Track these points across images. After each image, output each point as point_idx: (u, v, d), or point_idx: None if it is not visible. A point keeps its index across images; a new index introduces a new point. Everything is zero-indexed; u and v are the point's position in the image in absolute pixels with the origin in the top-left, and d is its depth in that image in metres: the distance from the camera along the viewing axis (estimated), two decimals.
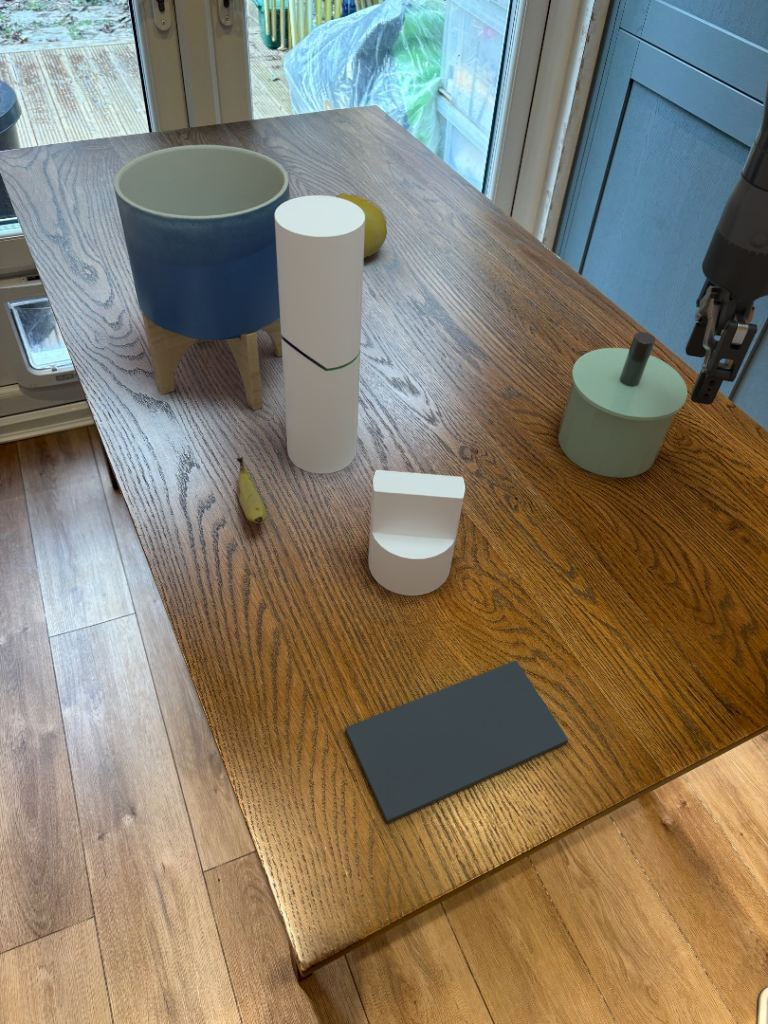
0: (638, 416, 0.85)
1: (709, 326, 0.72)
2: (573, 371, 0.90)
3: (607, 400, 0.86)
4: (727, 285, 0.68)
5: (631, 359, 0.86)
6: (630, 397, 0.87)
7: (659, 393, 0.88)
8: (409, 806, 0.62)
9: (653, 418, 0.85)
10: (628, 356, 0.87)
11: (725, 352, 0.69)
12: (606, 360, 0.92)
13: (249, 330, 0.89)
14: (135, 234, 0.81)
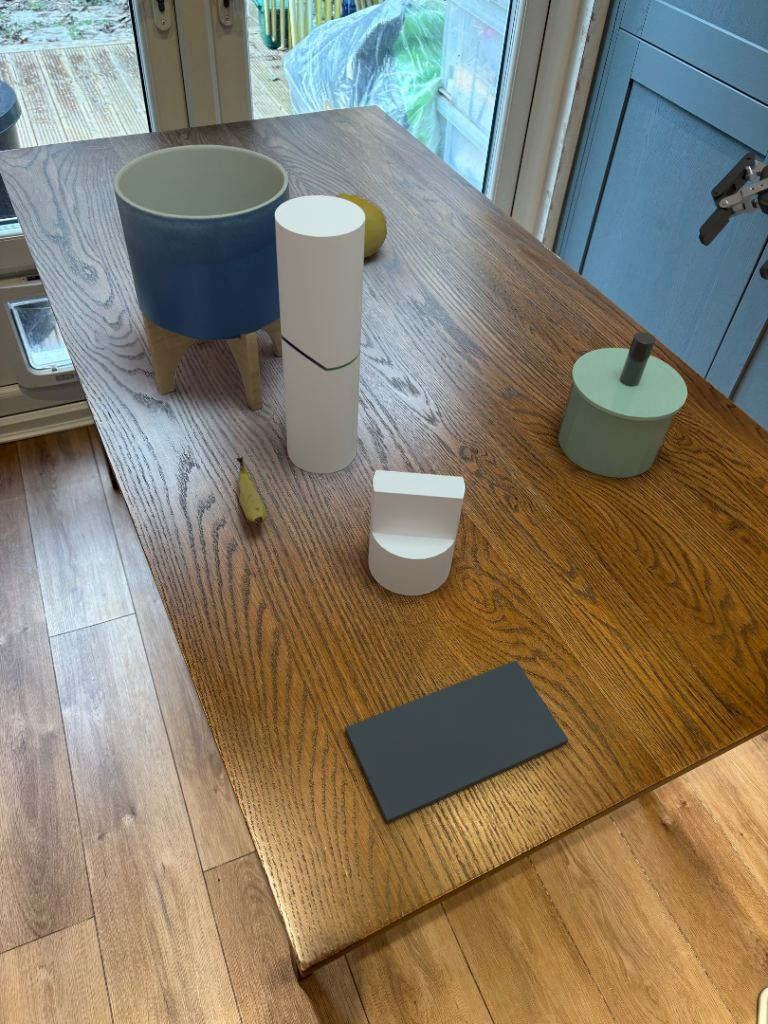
0: (638, 416, 0.85)
1: None
2: (573, 371, 0.90)
3: (607, 400, 0.86)
4: None
5: (631, 359, 0.86)
6: (630, 397, 0.87)
7: (659, 393, 0.88)
8: (409, 806, 0.62)
9: (653, 418, 0.85)
10: (628, 356, 0.87)
11: None
12: (606, 360, 0.92)
13: (249, 330, 0.89)
14: (135, 234, 0.81)
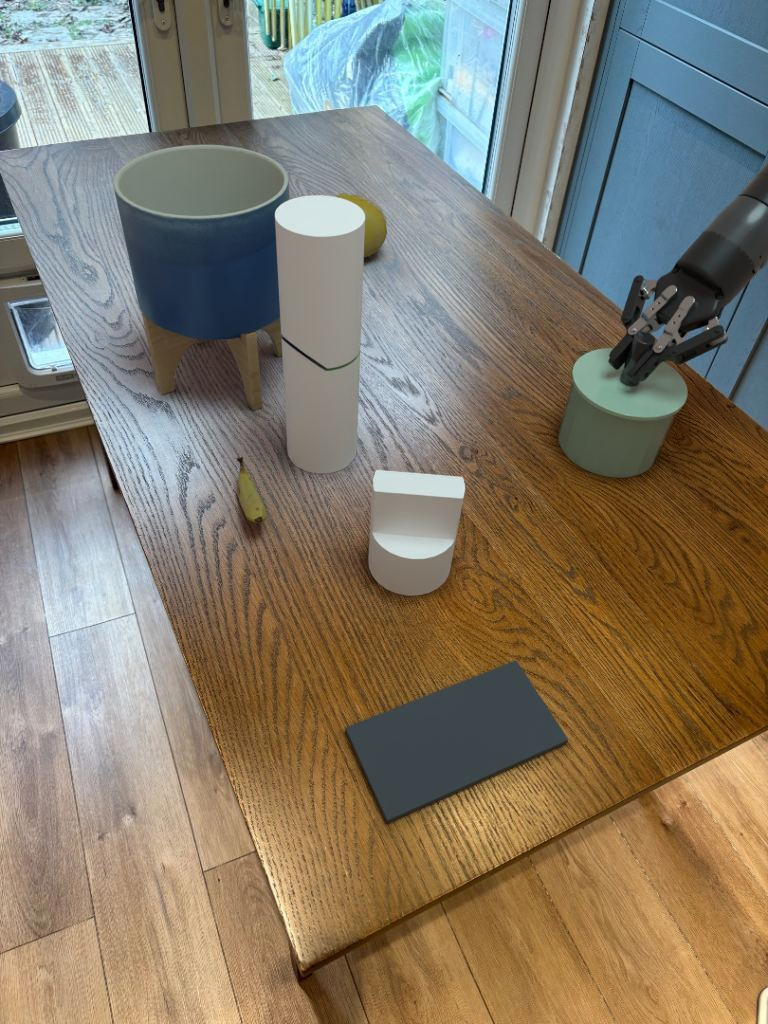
0: (639, 416, 0.85)
1: None
2: (573, 371, 0.90)
3: (607, 400, 0.86)
4: None
5: (631, 359, 0.86)
6: (630, 397, 0.87)
7: (659, 393, 0.88)
8: (409, 806, 0.62)
9: (653, 418, 0.85)
10: (628, 356, 0.87)
11: None
12: (606, 360, 0.92)
13: (249, 330, 0.89)
14: (135, 234, 0.81)
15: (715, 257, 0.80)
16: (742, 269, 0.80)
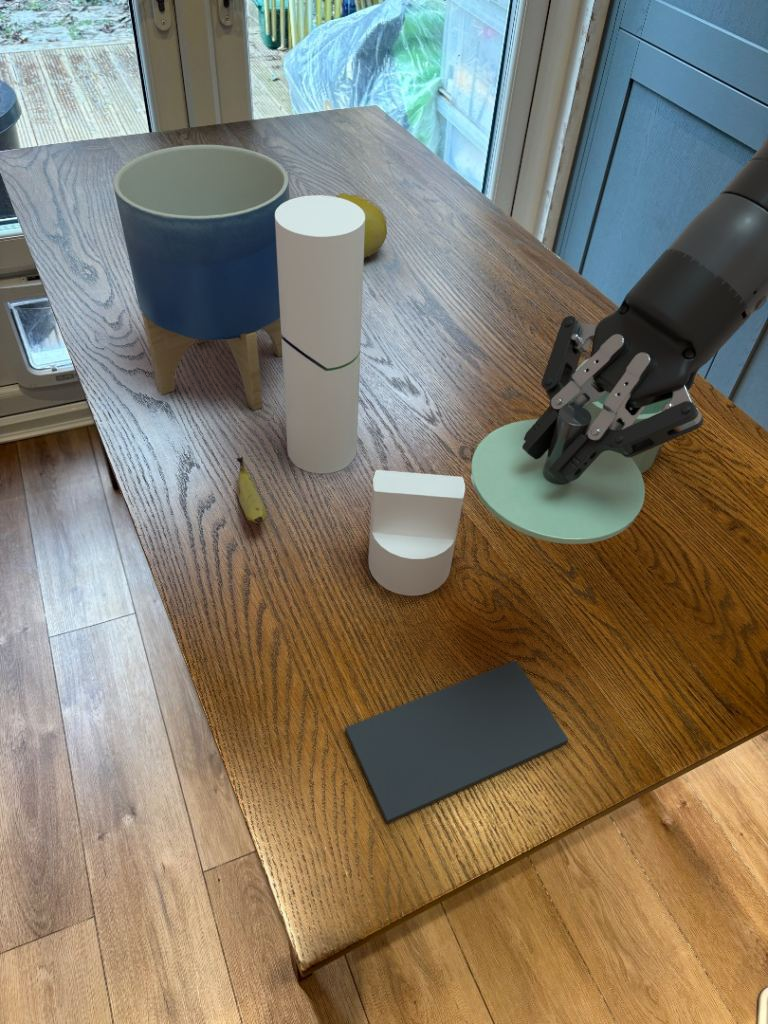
0: (565, 538, 0.54)
1: None
2: (473, 459, 0.60)
3: (519, 510, 0.56)
4: None
5: (556, 447, 0.56)
6: (555, 504, 0.57)
7: (601, 496, 0.57)
8: (409, 806, 0.62)
9: (588, 540, 0.55)
10: (551, 441, 0.56)
11: None
12: None
13: (249, 330, 0.89)
14: (135, 234, 0.81)
15: (682, 292, 0.50)
16: (725, 312, 0.50)
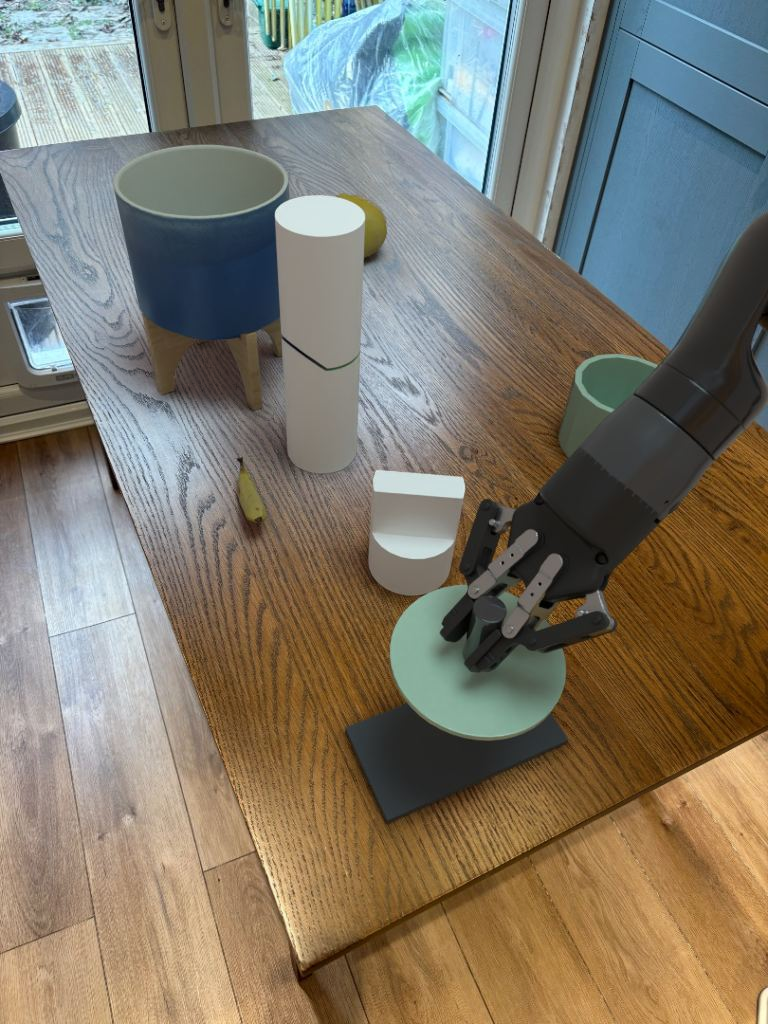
0: (479, 736, 0.53)
1: None
2: (392, 637, 0.58)
3: (435, 701, 0.55)
4: None
5: (473, 637, 0.55)
6: (473, 692, 0.55)
7: (520, 681, 0.56)
8: (409, 806, 0.62)
9: (503, 737, 0.53)
10: (468, 629, 0.55)
11: None
12: (449, 611, 0.60)
13: (249, 330, 0.89)
14: (135, 234, 0.81)
15: (592, 502, 0.49)
16: (636, 522, 0.49)
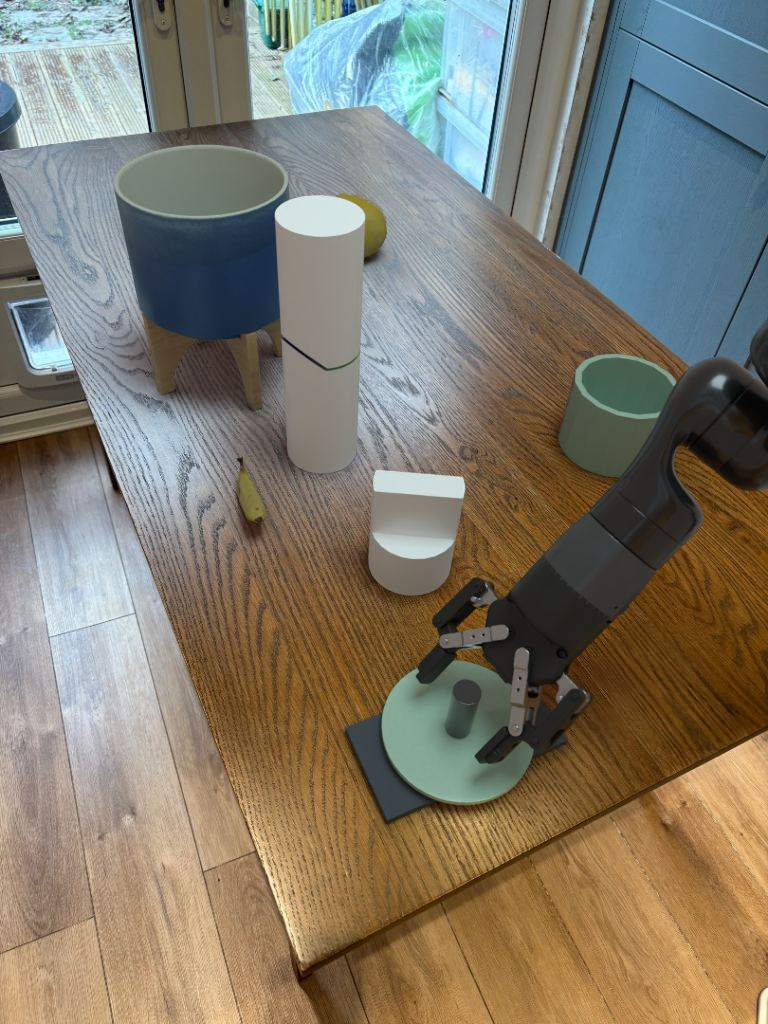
0: (458, 801, 0.62)
1: None
2: (384, 710, 0.67)
3: (420, 770, 0.63)
4: None
5: (453, 714, 0.63)
6: (453, 761, 0.64)
7: None
8: (409, 806, 0.62)
9: (479, 802, 0.62)
10: (449, 707, 0.64)
11: None
12: (433, 686, 0.69)
13: (249, 330, 0.89)
14: (135, 234, 0.81)
15: (553, 607, 0.57)
16: (590, 624, 0.57)
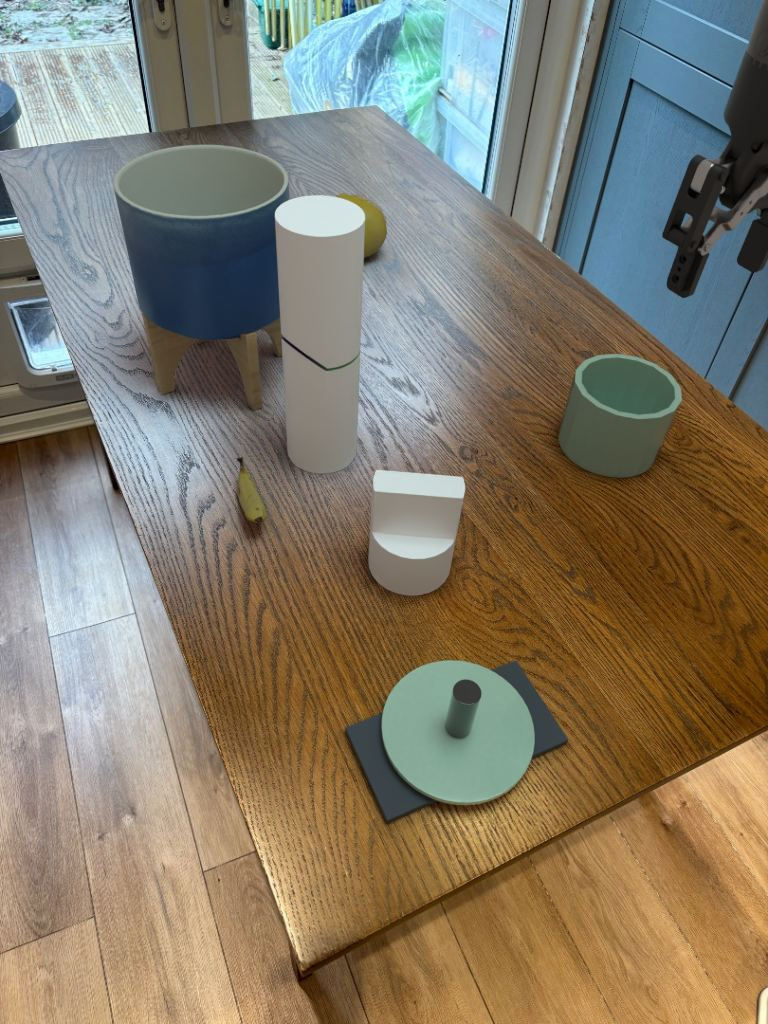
0: (458, 801, 0.62)
1: None
2: (384, 710, 0.67)
3: (420, 770, 0.63)
4: (729, 116, 0.51)
5: (453, 714, 0.63)
6: (453, 761, 0.64)
7: (494, 751, 0.65)
8: (409, 806, 0.62)
9: (479, 802, 0.62)
10: (449, 707, 0.64)
11: (682, 200, 0.52)
12: (433, 686, 0.69)
13: (249, 330, 0.89)
14: (135, 234, 0.81)
15: None
16: None
